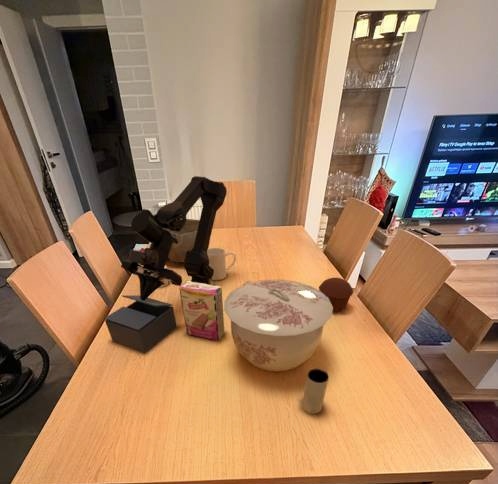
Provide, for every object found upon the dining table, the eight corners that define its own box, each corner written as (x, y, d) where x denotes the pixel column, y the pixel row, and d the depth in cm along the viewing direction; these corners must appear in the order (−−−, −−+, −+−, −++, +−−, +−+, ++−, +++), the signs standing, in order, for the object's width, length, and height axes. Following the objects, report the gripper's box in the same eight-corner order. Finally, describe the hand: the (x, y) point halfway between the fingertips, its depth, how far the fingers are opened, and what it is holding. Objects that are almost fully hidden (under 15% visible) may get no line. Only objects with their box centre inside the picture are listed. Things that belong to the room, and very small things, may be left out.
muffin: (309, 306, 107) (313, 280, 100) (326, 295, 113) (330, 270, 106) (339, 318, 101) (345, 291, 94) (355, 306, 107) (361, 280, 100)
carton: (146, 317, 102) (140, 295, 96) (177, 327, 97) (172, 304, 92) (112, 341, 91) (103, 318, 86) (145, 353, 87) (138, 329, 82)
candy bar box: (186, 335, 94) (178, 287, 83) (193, 326, 97) (186, 279, 87) (219, 342, 91) (214, 293, 80) (225, 333, 94) (222, 285, 84)
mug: (207, 281, 122) (205, 255, 116) (207, 272, 128) (204, 248, 122) (237, 279, 124) (236, 254, 117) (235, 271, 130) (234, 246, 123)
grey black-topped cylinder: (300, 400, 73) (305, 369, 66) (318, 398, 73) (325, 367, 67) (304, 414, 70) (310, 383, 63) (323, 413, 70) (331, 382, 63)
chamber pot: (323, 394, 74) (339, 324, 61) (216, 381, 78) (209, 312, 65) (322, 330, 95) (334, 268, 82) (237, 322, 99) (236, 261, 86)
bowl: (222, 255, 143) (220, 222, 133) (188, 274, 127) (183, 238, 118) (184, 246, 153) (180, 214, 143) (148, 262, 137) (141, 228, 127)
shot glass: (165, 288, 118) (162, 271, 113) (149, 286, 119) (145, 270, 114) (172, 280, 123) (169, 264, 118) (156, 279, 124) (153, 263, 119)
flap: (140, 296, 96) (140, 295, 96) (172, 305, 92) (172, 304, 92) (122, 296, 90) (122, 295, 90) (156, 306, 85) (156, 305, 85)
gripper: (116, 231, 85) (98, 283, 84) (169, 241, 78) (149, 297, 78) (142, 250, 95) (126, 296, 95) (190, 260, 89) (173, 310, 88)
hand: (142, 299), depth 89 cm, fingers closed
